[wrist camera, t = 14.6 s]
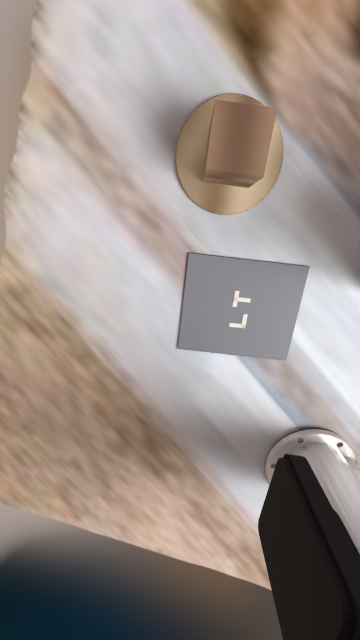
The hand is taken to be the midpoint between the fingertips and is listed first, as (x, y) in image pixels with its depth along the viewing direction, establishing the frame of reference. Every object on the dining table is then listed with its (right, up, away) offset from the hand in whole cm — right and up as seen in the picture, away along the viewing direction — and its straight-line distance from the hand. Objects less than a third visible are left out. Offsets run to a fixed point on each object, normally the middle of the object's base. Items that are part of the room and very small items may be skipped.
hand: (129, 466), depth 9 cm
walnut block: (+7, +21, +20) cm, 30 cm away
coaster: (+7, +22, +20) cm, 30 cm away
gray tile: (+9, +6, +25) cm, 27 cm away
